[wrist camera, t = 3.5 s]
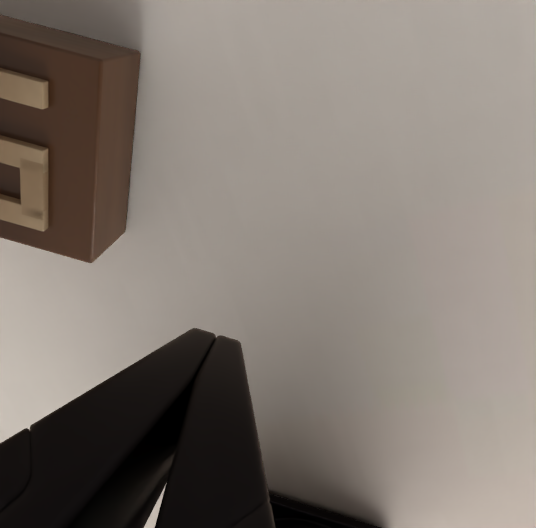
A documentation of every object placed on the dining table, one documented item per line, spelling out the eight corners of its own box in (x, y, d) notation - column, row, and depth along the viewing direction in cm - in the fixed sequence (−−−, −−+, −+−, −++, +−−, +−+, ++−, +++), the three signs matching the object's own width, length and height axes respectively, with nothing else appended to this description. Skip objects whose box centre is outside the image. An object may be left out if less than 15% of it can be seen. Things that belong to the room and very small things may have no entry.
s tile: (142, 51, 15) (96, 60, 12) (126, 232, 17) (87, 269, 15) (-50, 0, 15) (-132, 0, 12) (-34, 187, 18) (-98, 216, 15)
